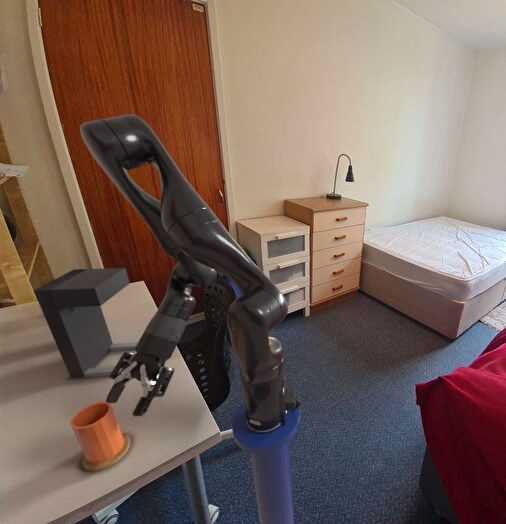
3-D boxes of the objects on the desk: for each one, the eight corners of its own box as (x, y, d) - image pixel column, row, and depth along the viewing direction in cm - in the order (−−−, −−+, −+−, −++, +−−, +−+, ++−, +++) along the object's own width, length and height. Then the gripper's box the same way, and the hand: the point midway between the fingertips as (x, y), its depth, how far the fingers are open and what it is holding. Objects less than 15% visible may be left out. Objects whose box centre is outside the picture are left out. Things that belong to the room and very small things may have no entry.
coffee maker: (146, 344, 91) (125, 268, 81) (123, 374, 79) (94, 288, 69) (101, 347, 88) (74, 269, 79) (70, 378, 77) (33, 290, 67)
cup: (130, 434, 62) (118, 400, 58) (113, 462, 56) (98, 426, 52) (99, 437, 61) (85, 403, 57) (79, 466, 55) (61, 430, 51)
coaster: (137, 433, 63) (136, 430, 62) (116, 468, 56) (115, 466, 55) (99, 437, 61) (98, 434, 61) (73, 474, 55) (72, 471, 54)
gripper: (127, 324, 65) (84, 398, 59) (172, 339, 60) (130, 421, 55) (154, 331, 72) (118, 398, 66) (196, 345, 67) (161, 419, 61)
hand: (123, 409), depth 60 cm, fingers open, 8 cm apart
